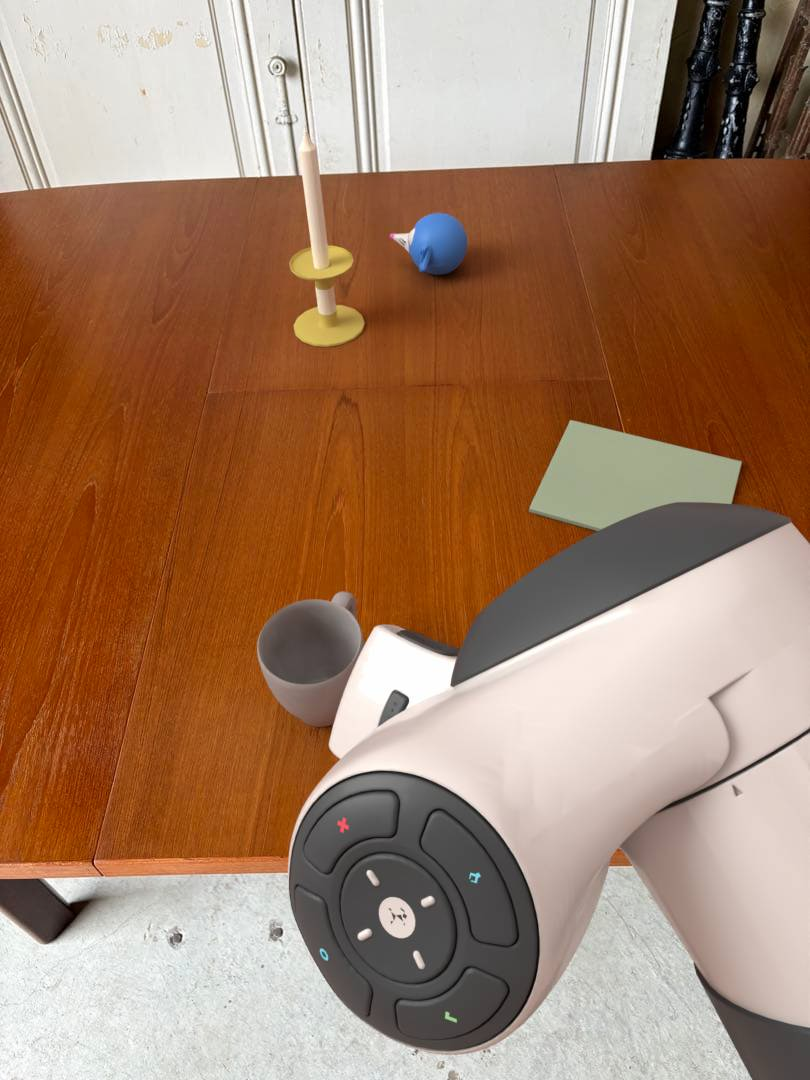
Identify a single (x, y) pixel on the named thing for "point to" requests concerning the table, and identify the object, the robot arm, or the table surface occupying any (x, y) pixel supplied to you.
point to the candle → (322, 267)
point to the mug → (311, 655)
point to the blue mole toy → (435, 243)
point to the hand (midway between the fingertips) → (564, 718)
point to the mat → (626, 477)
